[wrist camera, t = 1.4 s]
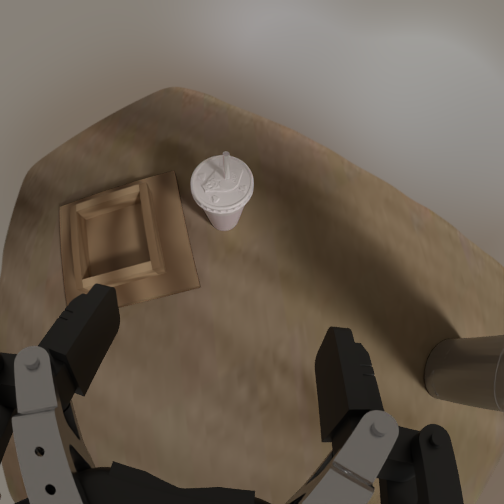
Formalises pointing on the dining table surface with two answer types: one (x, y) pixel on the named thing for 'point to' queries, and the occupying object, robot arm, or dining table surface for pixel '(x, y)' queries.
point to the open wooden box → (128, 242)
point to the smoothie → (222, 189)
